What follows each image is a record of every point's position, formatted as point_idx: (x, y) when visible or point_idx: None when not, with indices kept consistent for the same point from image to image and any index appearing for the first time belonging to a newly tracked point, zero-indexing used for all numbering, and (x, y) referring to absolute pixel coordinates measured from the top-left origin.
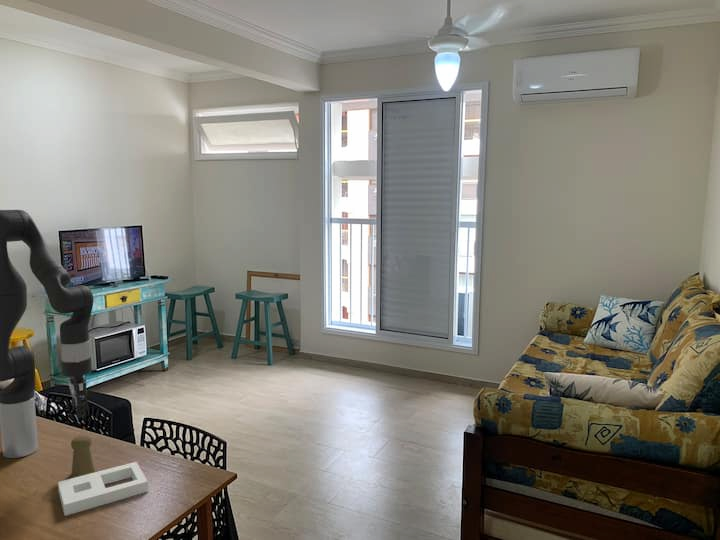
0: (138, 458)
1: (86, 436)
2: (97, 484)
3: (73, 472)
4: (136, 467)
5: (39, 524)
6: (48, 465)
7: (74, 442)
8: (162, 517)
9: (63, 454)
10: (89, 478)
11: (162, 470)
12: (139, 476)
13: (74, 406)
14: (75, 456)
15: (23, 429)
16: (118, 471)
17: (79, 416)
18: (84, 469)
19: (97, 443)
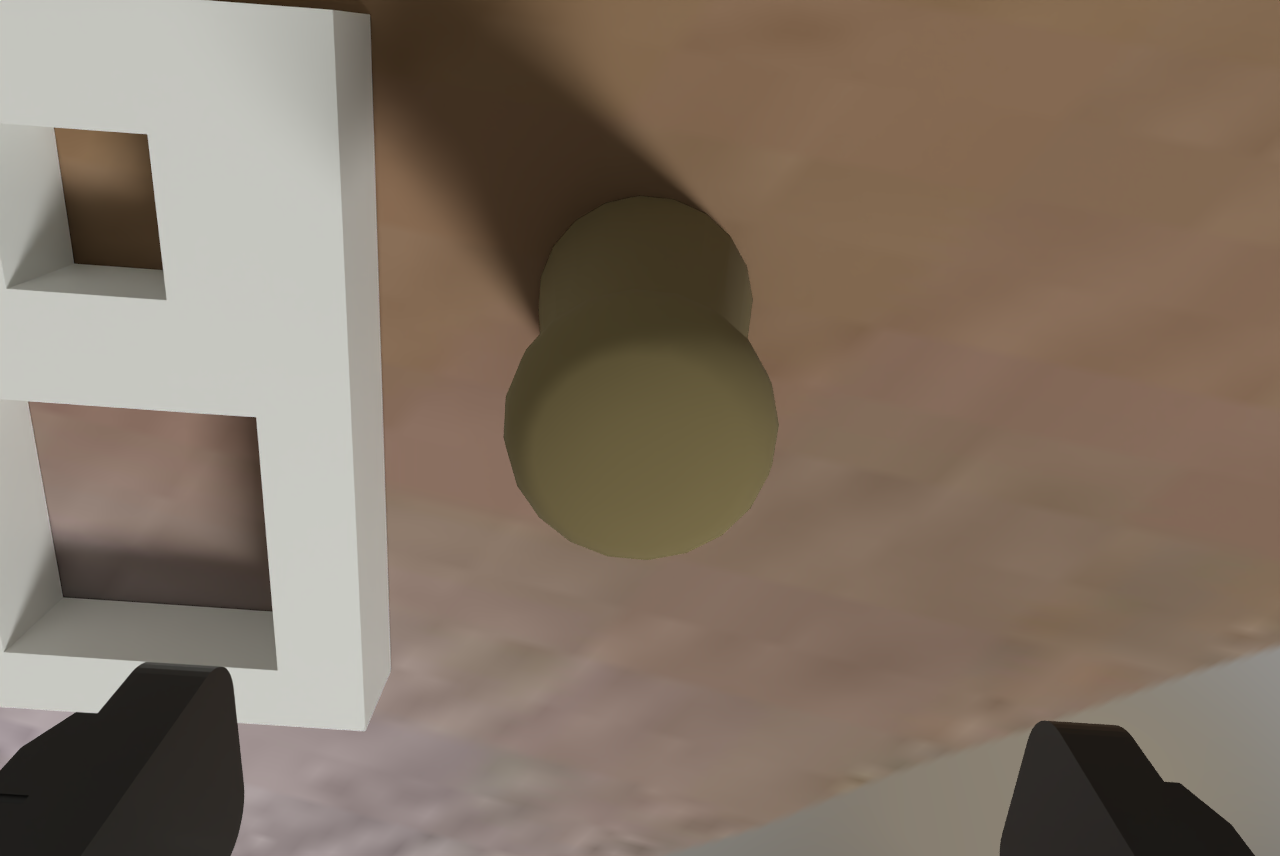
0: (624, 740)
1: (628, 528)
2: (65, 351)
3: (605, 219)
4: (244, 703)
5: None
6: (1083, 35)
7: (577, 344)
8: None
9: (1232, 228)
10: (236, 316)
11: (297, 811)
12: (52, 677)
13: (1049, 763)
14: (592, 289)
15: None
16: (273, 566)
17: (63, 720)
18: (540, 322)
19: (1210, 555)
